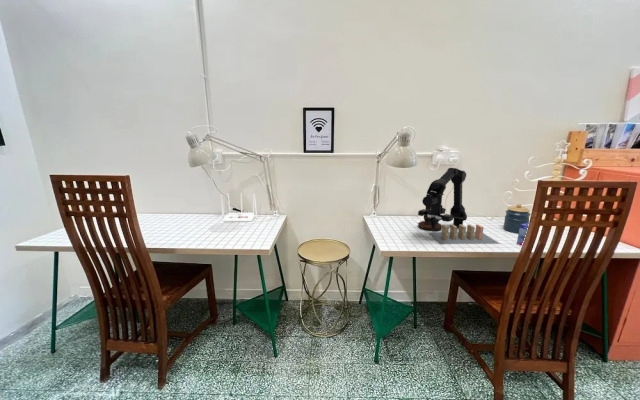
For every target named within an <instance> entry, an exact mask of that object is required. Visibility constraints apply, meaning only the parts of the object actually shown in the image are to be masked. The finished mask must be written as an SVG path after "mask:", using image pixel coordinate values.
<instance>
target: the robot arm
mask: <svg viewBox="0 0 640 400" xmlns="http://www.w3.org/2000/svg"><path fill="white" fill-rule="evenodd" d="M466 178H467V172H466V171H465V170H461V169H458V168H455V167H449V168H447V170H446V172H445V173H444V174H442V176H441V177H440V178H438V179H434V180H433V181H431V183H430V185H429V187H428V189H427V191H426V196H424V197H423V198H422V204H423V205H424V206H425V207H426V206H427V207H430V212H429V210H425V208H424V209H420V210H418V212H417V216H420V217H422V216H423V217H424V214H425V215H428V217H427V219H428V220H429V222H430V224H431V226H432V228H433V229H435V228H436V226H437V224H438V223H440V221H442V222H448V223H450V222H452V221H453V222H452V225H455V226H456V227H457V230H459V225H460V224H462V225H463V226H464V221H467V219H468V215H467V213H466V208H465V207H464V205H463V183H464V182H465V181H466ZM450 181H451V183H452V184H453V205H452V207H451V208H450V212H449V213H450V214H447V213H446V211H447V208H445V207H443V204H442V202H443V201H442V200H443V196H444V195H445V194H444V192H445V191H446V189H447V186H446V185H447V184H448V183H449V182H450ZM436 215H437V216H436Z"/></svg>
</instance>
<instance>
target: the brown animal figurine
mask: <svg viewBox="0 0 640 400" xmlns="http://www.w3.org/2000/svg"><path fill="white" fill-rule="evenodd" d="M424 209H425V210H429V212H430V207H427V206H425V208H424ZM436 216H437V215H436ZM427 217H428V215H425V214H424V215H423V220H422V221H420V222H417V225H418V228H419V227H420V228H421V229H425V230H429V231H431V232H434V231H436V230H442V225H443V224H441V223H440V222H438V224H437V226H436V228H435V229H433V228H432V226H431V224H430V222H429V220H428V219H427Z"/></svg>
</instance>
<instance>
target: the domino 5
mask: <svg viewBox="0 0 640 400" xmlns="http://www.w3.org/2000/svg"><path fill="white" fill-rule="evenodd" d="M474 232H475V238H477V239H478V240H482V236H483V234H484V226H482V225H480V224H478V223H477V224H475V230H474Z"/></svg>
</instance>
